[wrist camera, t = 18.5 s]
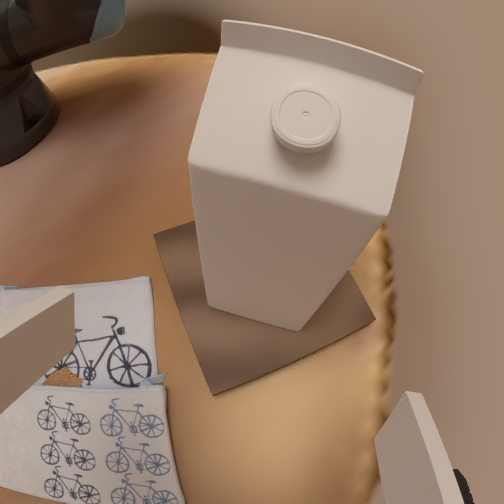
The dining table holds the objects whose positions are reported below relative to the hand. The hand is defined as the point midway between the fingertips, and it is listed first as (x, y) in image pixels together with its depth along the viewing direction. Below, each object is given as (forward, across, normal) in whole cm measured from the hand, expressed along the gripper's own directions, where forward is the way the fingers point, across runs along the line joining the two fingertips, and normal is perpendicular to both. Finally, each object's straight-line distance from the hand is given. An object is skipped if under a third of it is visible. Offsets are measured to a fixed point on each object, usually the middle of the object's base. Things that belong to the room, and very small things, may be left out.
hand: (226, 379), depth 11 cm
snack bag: (+6, -13, -13) cm, 19 cm away
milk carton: (+15, 0, -1) cm, 15 cm away
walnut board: (+16, 0, -2) cm, 16 cm away
